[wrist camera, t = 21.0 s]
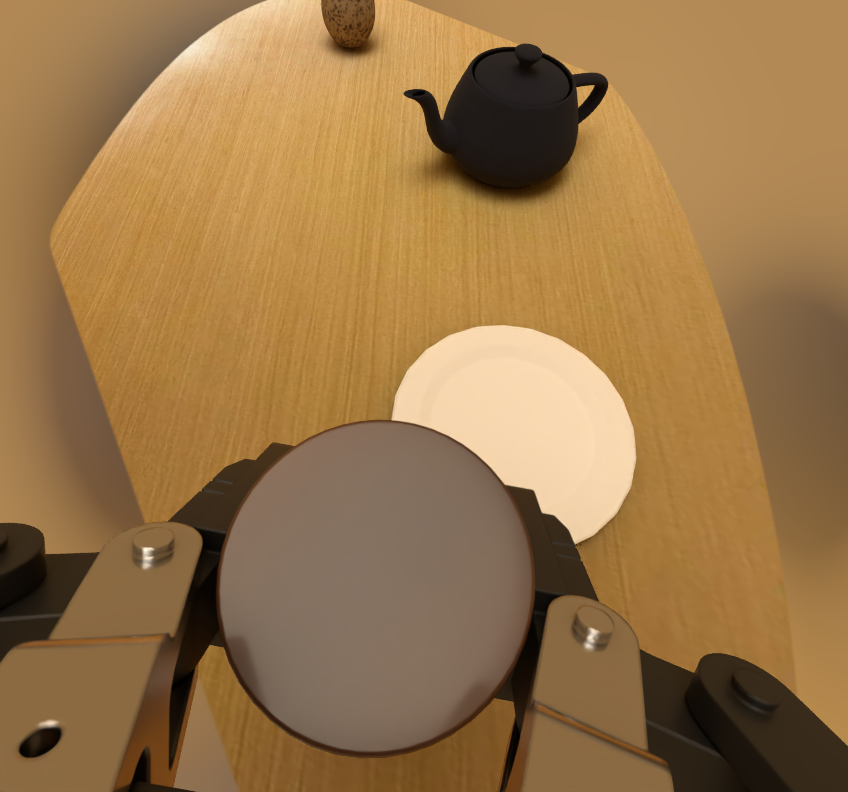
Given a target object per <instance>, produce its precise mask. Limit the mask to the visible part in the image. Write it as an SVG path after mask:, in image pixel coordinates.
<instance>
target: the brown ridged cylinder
mask: <svg viewBox="0 0 848 792" xmlns="http://www.w3.org/2000/svg"><path fill="white" fill-rule="evenodd" d="M534 601H535V567H534V557H533V552H532V547H531V543H530V538H529V534H528V531H527V528H526V526H525V523H524V520H523V517H522V515H521V513H520V511H519V509H518V507H517V504H516V502H515V500H514V498H513V497H512V495H511V494H510V492H509V491H508V489H507V488H506V486H505V484H504V483H503V482H502V480H501V479H500V478H499V477H498V476H497V474H496V473H495V472H494V471H493V470H492V468H491V467H490V466H489V465H488V464H486V463H485V462H484V461H483V460H482V459H481V458H480V457H479V456H478V455H477V454H476V453H474V452H473V451H471V450H470V449H469V448H467V447H466V446H465V445H463V444H462V443H460V442H458V441H457V440H455V439H453V438H451V437H450V436H448V435H446V434H443V433H441V432H439V431H436V430H434V429H432V428H428V427H425V426H421V425H418V424H414V423H409V422H403V421H396V420H369V421H359V422H354V423H349V424H344V425H340V426H337V427H334V428H331V429H328V430H325V431H323V432H321V433H318V434H316V435H314V436H312V437H310V438H308V439H306V440H304V441H303V442H301V443H299V444H298V445H296V446H294V447H293V448H291V449H290V450H289V451H287V452H286V453H285V454H284V455H282V456H281V457H280V458H278V459H277V460H276V461H275V462H274V463H273V464H272V465H271V466H270V467H269V468H268V469H267V470H266V471H265V472H264V473H263V474H262V475H261V476H260V477H259V479H258V480H257V481H256V482H255V484H254V485H253V486H252V487H251V489H250V490H249V491H248V493H247V494H246V496H245V498H244V499H243V501H242V502H241V504H240V506H239V507H238V509H237V511H236V513H235V515H234V517H233V520H232V522H231V524H230V526H229V528H228V531H227V534H226V537H225V540H224V543H223V546H222V550H221V555H220V560H219V565H218V570H217V581H216V609H217V620H218V625H219V630H220V635H221V640H222V643H223V646H224V649H225V652H226V655H227V658H228V661H229V663H230V665H231V667H232V669H233V671H234V673H235V675H236V677H237V679H238V681H239V683H240V685H241V686H242V688H243V689H244V690H245V692H246V693H247V695H248V696H249V697H250V699H251V700H252V702H253V703H254V704H255V705H256V706H257V707H258V708H259V709H260V710H261V711H262V712H263V713H264V714H265V715H266V717H267V718H268V719H269V720H270V721H272V722H273V723H274V724H276V725H277V726H278V727H280V728H281V729H282V730H284V731H285V732H286V733H288V734H289V735H290V736H292V737H294V738H296V739H298V740H300V741H302V742H304V743H306V744H308V745H309V746H311V747H314V748H317V749H320V750H323V751H326V752H329V753H332V754H336V755H342V756H349V757H355V758H386V757H392V756H398V755H403V754H408V753H411V752H414V751H417V750H420V749H423V748H426V747H429V746H432V745H434V744H436V743H437V742H439V741H441V740H443V739H445V738H447V737H449V736H451V735H453V734H454V733H456V732H457V731H458V730H460V729H461V728H462V727H464V726H465V725H467V724H468V723H469V722H471V721H472V720H473V719H474V718H475V717H476V716H477V715H478V714H479V713H480V712H481V711H482V710H484V709H485V708H486V707H487V706H488V705H489V704H490V702H491V701H492V700H493V699H494V697H495V696H496V695H497V694H498V692H499V691H500V690H501V688H502V687H503V686H504V685H505V683H506V681H507V679H508V678H509V676H510V674H511V673H512V671H513V669H514V667H515V666H516V664H517V662H518V659H519V657H520V654H521V652H522V650H523V647H524V645H525V643H526V639H527V635H528V632H529V628H530V625H531V621H532V615H533V608H534Z"/></svg>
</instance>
